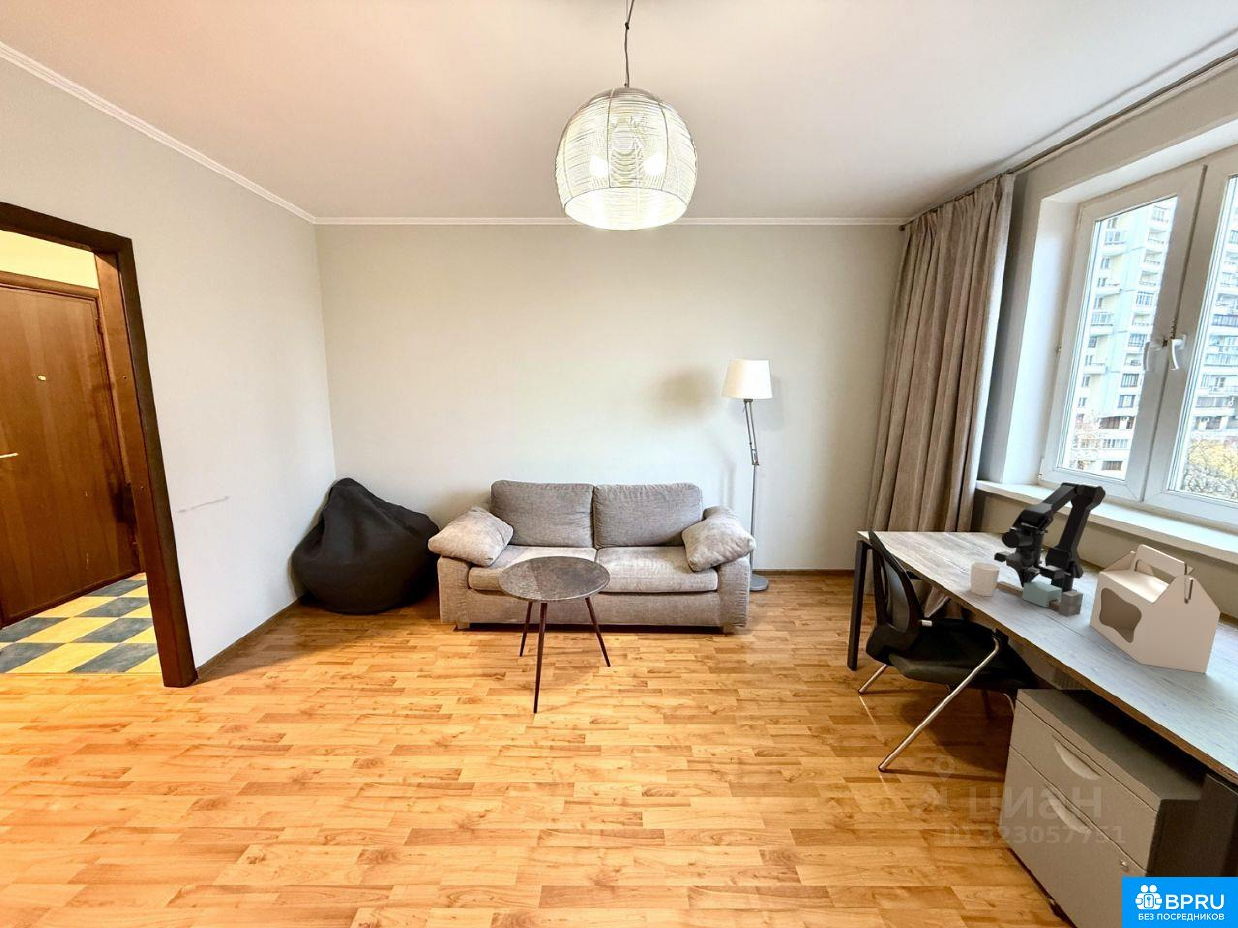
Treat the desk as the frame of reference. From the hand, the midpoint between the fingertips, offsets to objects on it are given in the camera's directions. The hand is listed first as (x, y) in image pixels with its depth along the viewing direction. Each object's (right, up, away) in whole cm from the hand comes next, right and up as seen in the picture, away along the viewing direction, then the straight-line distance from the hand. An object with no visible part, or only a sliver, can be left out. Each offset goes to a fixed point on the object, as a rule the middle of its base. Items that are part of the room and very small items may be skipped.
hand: (1023, 587), depth 164 cm
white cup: (-12, -3, +3) cm, 13 cm away
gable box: (+6, -9, -31) cm, 33 cm away
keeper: (+2, -4, -5) cm, 6 cm away
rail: (+1, -3, -3) cm, 5 cm away
